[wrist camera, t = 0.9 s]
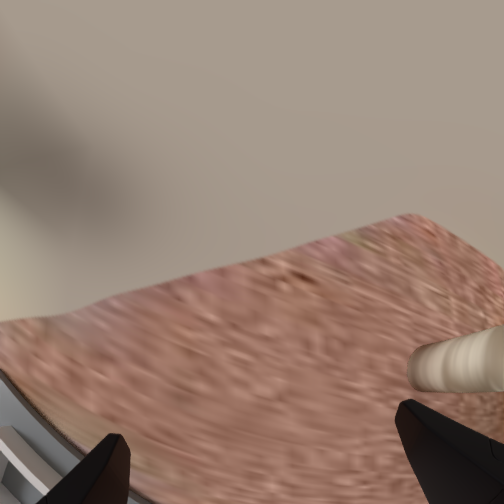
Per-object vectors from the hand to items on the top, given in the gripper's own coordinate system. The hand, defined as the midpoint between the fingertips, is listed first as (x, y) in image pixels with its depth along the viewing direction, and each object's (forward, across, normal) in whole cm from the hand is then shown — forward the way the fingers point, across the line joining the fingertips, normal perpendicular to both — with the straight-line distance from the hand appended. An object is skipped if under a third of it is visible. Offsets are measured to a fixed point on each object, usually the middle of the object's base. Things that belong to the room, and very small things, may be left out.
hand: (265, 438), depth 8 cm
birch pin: (+11, -16, +10) cm, 22 cm away
